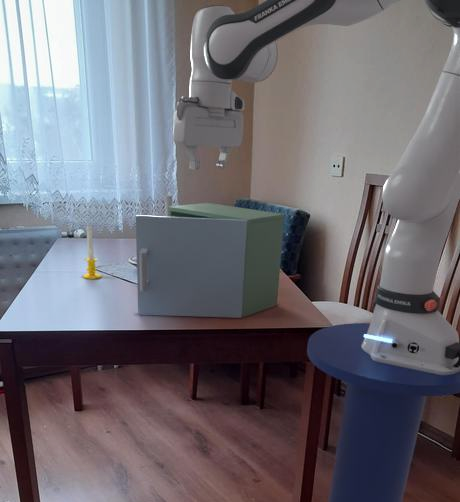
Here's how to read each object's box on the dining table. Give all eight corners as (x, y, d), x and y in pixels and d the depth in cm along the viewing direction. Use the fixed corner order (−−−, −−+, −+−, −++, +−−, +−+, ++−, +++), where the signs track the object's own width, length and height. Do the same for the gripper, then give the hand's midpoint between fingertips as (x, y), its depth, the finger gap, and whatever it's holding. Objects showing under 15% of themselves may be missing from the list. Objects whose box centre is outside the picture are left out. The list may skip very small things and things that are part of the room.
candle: (103, 275, 173) (100, 223, 166) (97, 279, 168) (94, 226, 161) (86, 274, 173) (83, 222, 166) (81, 278, 169) (77, 225, 162)
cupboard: (242, 317, 142) (248, 219, 131) (168, 296, 155) (168, 206, 144) (276, 305, 153) (284, 214, 142) (204, 286, 167) (207, 202, 156)
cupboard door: (242, 324, 136) (248, 224, 125) (135, 321, 134) (132, 219, 123) (240, 316, 141) (246, 220, 131) (138, 313, 140) (135, 215, 129)
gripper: (189, 95, 109) (188, 171, 116) (249, 102, 124) (245, 169, 131) (166, 94, 113) (166, 168, 119) (227, 101, 128) (224, 167, 134)
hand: (208, 168), depth 125 cm, fingers open, 8 cm apart
